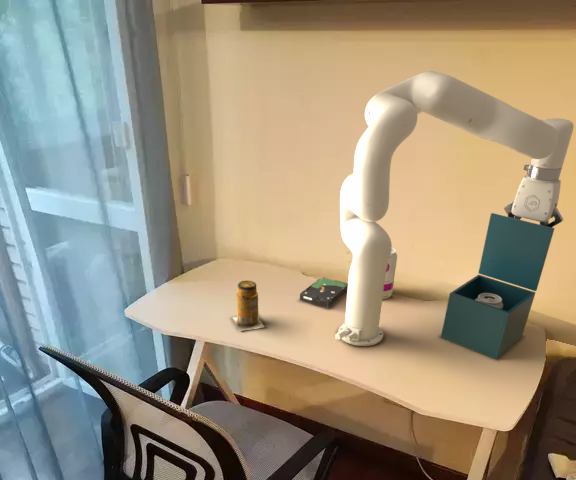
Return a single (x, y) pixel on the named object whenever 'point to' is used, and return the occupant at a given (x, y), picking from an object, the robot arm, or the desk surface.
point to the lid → (515, 251)
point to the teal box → (486, 316)
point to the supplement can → (390, 275)
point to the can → (490, 300)
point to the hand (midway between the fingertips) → (525, 240)
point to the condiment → (247, 306)
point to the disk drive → (324, 292)
